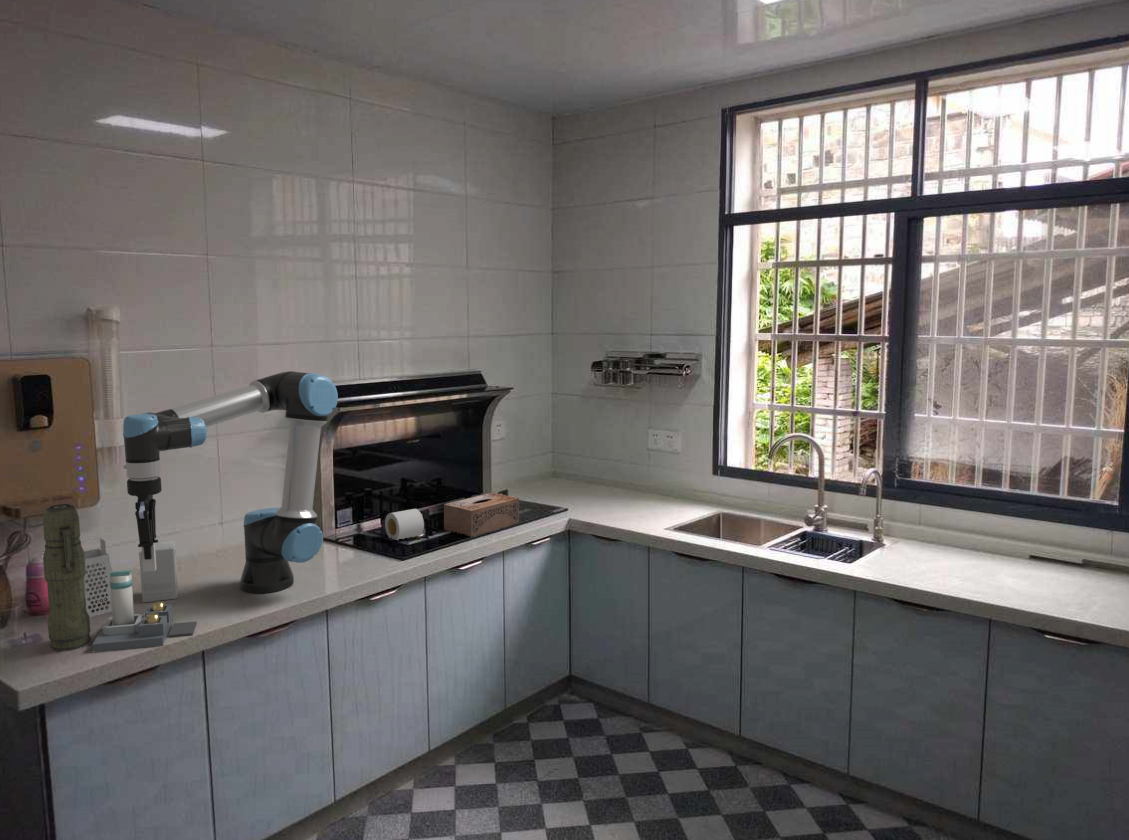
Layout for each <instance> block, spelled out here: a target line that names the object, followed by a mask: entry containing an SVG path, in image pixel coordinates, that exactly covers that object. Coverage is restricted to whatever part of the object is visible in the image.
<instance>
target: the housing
mask: <svg viewBox="0 0 1129 840" xmlns="http://www.w3.org/2000/svg"><path fill="white" fill-rule="evenodd" d="M172 605H173V603H168V604H167V603H166V604H165V603H164V611H152V605H148V606H147V608H146V610H145V612H144V613H143V614H140V613H134V624H128V625H117V626H113V616H110V617H108V618H107V619H106V621H105V622H104V624H103V626H102V628H101V630H100V631H99V632H98V634H97V636H96V637H95V639H94V640H93V642H92V645H91V646H92V652H93V651H100V652H109V651H108V650H111V651H119V650H118V649H121V650H128V649H127V648H131V649H140V648H151V647H152V648H153V647H160V646H161V647H162V646H164V644H165V642H166V640H165V639H167V637H168V636H169V633H170V631H171V628H172V626H173V623H174V617H173V606H172ZM150 613H158V614H159V623H149V624H147V622H146V615H147V614H150ZM172 622H173V623H172ZM139 647H140V648H139Z"/></svg>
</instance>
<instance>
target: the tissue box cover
mask: <svg viewBox="0 0 1129 840" xmlns="http://www.w3.org/2000/svg"><path fill="white" fill-rule="evenodd" d="M516 523H517V524H519V523H520V498H519V497H515V496H511V495H505V494H500V493H495V492H487V493H484V494H479V495H477V496H471V497H468V498H464V499H461V500H460V499H459V500H456V501H452V502H447V503H444V504H443V529H444V531H448V532H451V531H453V532H452V533H455V532H457V533H456V534H459V533H460V534H459V535H462V534H465V535H464V536H466V535H467V537H470V538H472V537H475V536H480V535H483V534H486V533H490V532H493V531H495V530H499V529H504V528H506V527H509V526H513V525H517V524H516Z"/></svg>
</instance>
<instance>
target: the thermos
mask: <svg viewBox="0 0 1129 840" xmlns="http://www.w3.org/2000/svg"><path fill="white" fill-rule="evenodd" d="M42 523H43V524H42V526H43V538H44V541H45V544H44V553H43V557H42V562H43V563H42V564H43V574H44V575H43V576H44V580H45V582H46V584H47V585H46V586H47V596H48V597H47V598H48V608H49V617H48V620H47V629H48V631H47V632H48V639H49V640H50V642H49V643H50V649H51V650H52V651H57V652H67V651H68V652H69V651H72V650H73V649H74V650H77V648H78V649H80V647H81V648H83V647H86V646H87V645H89V644H90V643H91V636H90V635H91V623H90V622H91V621H90V619H91V618H90V617H89V615H88V613H87V611H86V598H85V584H84V576H85V574H86V568H85V554H84V552H85V550H84V548H83V546H82V542H81V541H80V539H81V538H80V537H81V529H80V527H81V526H80V515H79V513H78V511H77V509H76V506H74V505H72V504H67V503H61V504H54V505H50V506H49V507H46V509H45V511H44V514H43V518H42ZM85 645H86V646H85Z"/></svg>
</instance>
